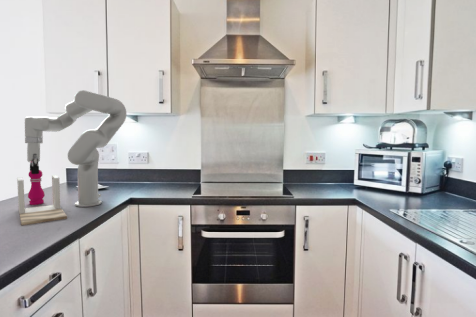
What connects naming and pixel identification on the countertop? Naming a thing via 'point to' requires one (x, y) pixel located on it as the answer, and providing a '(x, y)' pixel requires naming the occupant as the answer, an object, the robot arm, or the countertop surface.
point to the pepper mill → (36, 189)
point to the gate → (42, 208)
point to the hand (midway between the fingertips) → (34, 172)
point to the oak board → (42, 216)
